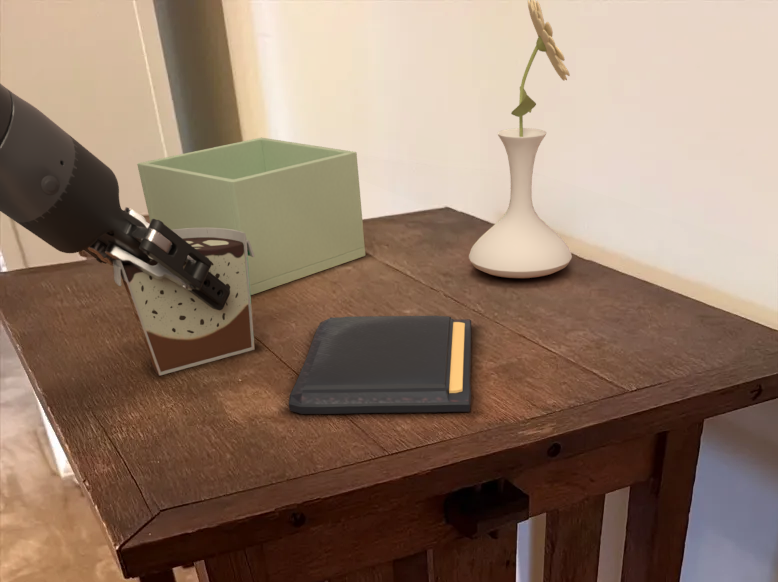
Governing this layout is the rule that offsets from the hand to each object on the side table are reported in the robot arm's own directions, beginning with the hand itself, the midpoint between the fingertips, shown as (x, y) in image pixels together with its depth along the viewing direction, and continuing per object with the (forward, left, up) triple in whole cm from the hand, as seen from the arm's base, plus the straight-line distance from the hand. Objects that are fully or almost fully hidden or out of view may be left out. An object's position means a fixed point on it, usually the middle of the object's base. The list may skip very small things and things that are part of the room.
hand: (193, 291), depth 82 cm
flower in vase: (+10, +37, -5) cm, 38 cm away
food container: (0, -1, -5) cm, 6 cm away
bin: (-16, +22, -5) cm, 27 cm away
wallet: (+17, +7, -5) cm, 19 cm away
